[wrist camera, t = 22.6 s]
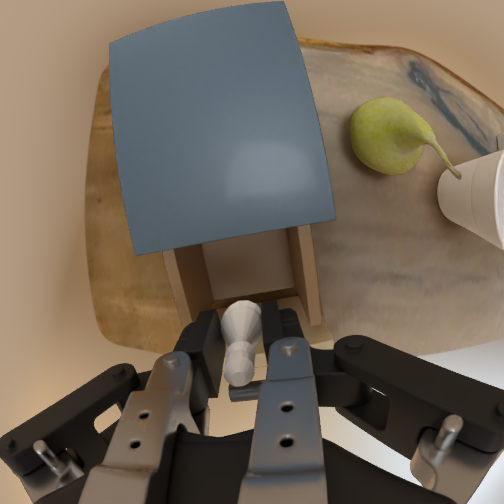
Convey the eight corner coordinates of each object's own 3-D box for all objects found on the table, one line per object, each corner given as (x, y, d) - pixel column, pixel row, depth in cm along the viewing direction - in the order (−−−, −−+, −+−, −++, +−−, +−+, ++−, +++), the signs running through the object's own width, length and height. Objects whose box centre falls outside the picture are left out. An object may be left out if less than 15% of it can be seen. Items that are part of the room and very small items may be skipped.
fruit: (386, 104, 22) (456, 64, 11) (410, 172, 24) (492, 170, 12) (330, 116, 23) (382, 67, 11) (356, 190, 24) (428, 192, 13)
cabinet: (303, 207, 25) (336, 220, 14) (181, 230, 25) (135, 256, 15) (274, 63, 22) (283, 0, 11) (157, 88, 22) (109, 43, 12)
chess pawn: (225, 294, 12) (212, 341, 8) (270, 302, 12) (276, 351, 8) (217, 343, 13) (205, 399, 9) (259, 350, 13) (260, 408, 9)
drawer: (315, 342, 27) (335, 397, 18) (217, 357, 27) (204, 415, 19) (290, 161, 23) (309, 145, 14) (175, 183, 24) (135, 181, 15)
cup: (412, 157, 23) (484, 148, 13) (470, 146, 23) (535, 140, 12) (430, 247, 25) (497, 276, 15) (483, 225, 25) (546, 242, 14)
